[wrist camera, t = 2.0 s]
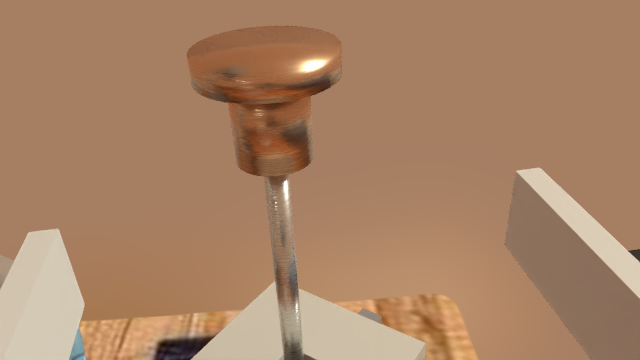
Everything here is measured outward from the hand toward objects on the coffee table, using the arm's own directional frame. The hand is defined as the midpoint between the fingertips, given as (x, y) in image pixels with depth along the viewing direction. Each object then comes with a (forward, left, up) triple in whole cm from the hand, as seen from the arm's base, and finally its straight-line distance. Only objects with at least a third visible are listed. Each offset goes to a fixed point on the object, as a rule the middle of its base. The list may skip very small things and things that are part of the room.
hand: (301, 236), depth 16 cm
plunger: (-7, +7, -20) cm, 22 cm away
